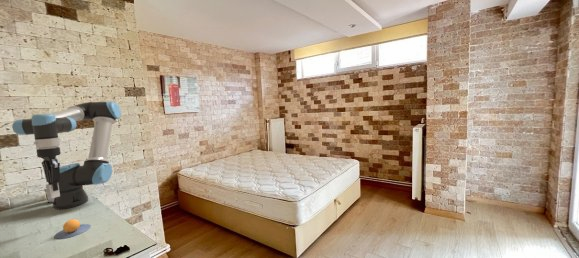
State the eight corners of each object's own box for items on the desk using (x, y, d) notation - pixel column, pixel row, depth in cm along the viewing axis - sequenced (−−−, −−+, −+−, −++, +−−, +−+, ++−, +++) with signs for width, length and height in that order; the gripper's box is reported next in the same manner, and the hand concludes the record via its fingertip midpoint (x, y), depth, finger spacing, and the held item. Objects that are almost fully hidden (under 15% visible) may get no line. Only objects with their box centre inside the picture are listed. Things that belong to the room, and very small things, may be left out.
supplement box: (55, 203, 138) (52, 184, 137) (47, 202, 139) (44, 184, 138) (66, 199, 144) (63, 181, 142) (59, 198, 145) (56, 181, 144)
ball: (69, 231, 105) (66, 219, 104) (83, 227, 106) (81, 216, 106) (61, 236, 99) (58, 224, 99) (76, 232, 101) (74, 220, 101)
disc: (64, 227, 107) (64, 227, 107) (95, 222, 111) (95, 222, 111) (46, 241, 96) (46, 241, 96) (82, 235, 99) (82, 235, 99)
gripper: (31, 148, 106) (39, 198, 108) (42, 149, 100) (50, 202, 102) (53, 145, 112) (60, 192, 115) (65, 146, 106) (72, 196, 109)
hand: (55, 197), depth 108 cm, fingers closed
